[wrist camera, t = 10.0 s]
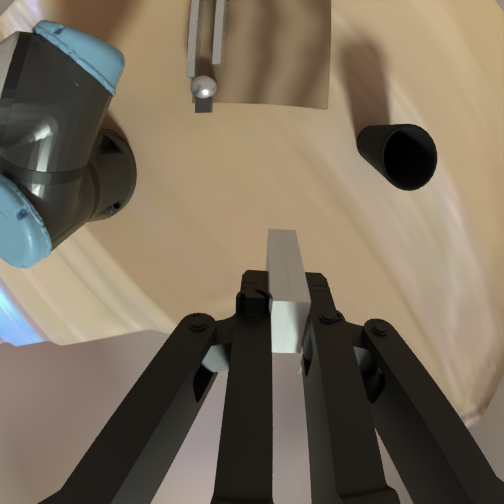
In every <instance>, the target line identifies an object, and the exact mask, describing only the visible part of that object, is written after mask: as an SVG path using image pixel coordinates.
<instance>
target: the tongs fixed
mask: <svg viewBox="0 0 504 504" xmlns="http://www.w3.org/2000/svg"><path fill="white" fill-rule="evenodd" d="M204 1H205V0H192V3H191V13H190V25H189V39H188V55H187V77H189V78H191V79H194V80H193V82H192V84H191V91H192V93H193V95H195V96H196V97H198V98H195V113H205V112H212V106H213V97H214V96H215V95H216V94H217V92H218V84H217V82H216V81H215V80H213V79H212V78H210V77H208V76H200V57H201V40H202V25H203V12H204Z"/></svg>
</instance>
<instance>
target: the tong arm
mask: <svg viewBox="0 0 504 504" xmlns="http://www.w3.org/2000/svg"><path fill="white" fill-rule="evenodd" d="M228 1H229V0H217V1H216V13H215V26H214V41H213V58H212V64H213V65H214V66H215V67H216V68H219V67H224V52H225V36H226V21H227V7H228Z"/></svg>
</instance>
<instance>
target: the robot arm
mask: <svg viewBox="0 0 504 504" xmlns="http://www.w3.org/2000/svg"><path fill="white" fill-rule="evenodd" d="M32 31H33V32H32V33H29V32H21V31H16V32H14V33H13V34H11V35H10V36H9V37H7V38H6V39H4V40H3V41H2V42H0V258H1V259H3V260H4V261H5V262H7V263H8V264H10V265H12V266H14V267H17V268H28V267H31V266H33V265H35V264H36V263H38V262H39V261H41V260H42V259H43V258H46V257H48V256H49V254H50V252H51V251H52V250H54V249H55V248H56V247H57V246H58V245H59V244H61V243H62V242H63V241H64V240H65V239H67V238H68V237H69V236H70V235H71V234H73V233H74V232H75V231H76V230H78V229H79V228H80V227H81V226H83V225H84V224H85V223H86V222H92V221H98V220H104V219H107V218H109V217H111V216H113V215H115V214H116V213H117V212H119V211H120V210H121V209H122V208H124V207H125V205H126V204H127V203H128V202H129V200H130V199H131V197H132V195H133V192H134V189H135V185H136V177H137V173H136V164H135V160H134V157H133V154H132V152H131V150H130V148H129V146H128V145H127V144H126V142H125V141H124V140H123V139H122V138H121V137H120V136H119V135H117V134H116V133H114V132H112V131H110V130H107V129H103V128H100V127H101V125H102V122H103V119H104V117H105V114H106V112H107V109H108V107H109V104H110V102H111V99H112V97H113V96H115V94H116V91H115V89H116V86H117V84H118V81H119V79H120V76H121V74H122V72H123V69H124V66H125V58H124V56H123V54H122V52H121V51H120V50H118V49H117V48H115V47H114V46H112V45H110V44H108V43H106V42H105V41H103V40H101V39H98V38H96V37H94V36H92V35H90V34H87V33H85V32H82V31H80V30H77V29H74V28H71V27H66V26H65V25H61V24H58V23H56V22H52V21H48V20H41V21H40V22H38V23H37V24H36V25H35V26H34V27H33V29H32ZM328 286H329V285H328V282H327V279H326V278H325V277H324V276H323V275H322V274H321V273H310V272H305V271H304V266H303V262H302V257H301V253H300V249H299V244H298V240H297V236H296V231H295V230H281V229H269V231H268V244H267V258H266V271H258V270H247V271H246V272H245V273H244V274H243V275H242V282H241V289H240V292H238V294H237V296H236V313H235V314H234V315H233V316H232V317H230V318H227V319H224V320H219V321H215V319H214V318H213V317H211V316H210V315H208V314H205V313H193V314H190V315H187V316H185V317H184V318H183V319H182V320H181V322H180V323H179V324H178V326H177V327H176V328H175V330H174V331H173V332H172V334H171V335H170V336H169V338H168V339H167V340H166V342H165V343H164V345H163V346H162V347H161V349H160V350H159V351H158V353H157V354H156V356H155V357H154V358H153V360H152V361H151V362H150V364H149V365H148V367H147V368H146V370H145V371H144V372H143V373H142V375H141V376H140V377H139V379H138V380H137V382H136V383H135V384H134V386H133V387H132V389H131V390H130V391H129V393H128V394H127V396H126V397H125V398H124V400H123V401H122V402H121V404H120V405H119V407H118V408H117V410H116V411H115V412H114V414H113V415H112V416H111V418H110V420H109V421H108V422H107V424H106V425H105V426H104V428H103V429H102V431H101V432H100V434H99V435H98V436H97V438H96V439H95V441H94V442H93V443H92V445H91V447H90V448H89V449H88V451H87V452H86V453H85V455H84V456H83V458H82V459H81V461H80V462H79V464H78V465H77V466H76V468H75V469H74V471H73V472H72V474H71V475H70V477H69V478H68V480H67V481H66V482H65V484H64V485H63V487H62V488H61V490H59V491H58V492H56V493H54V494H53V495H51V496H49V497H48V498H46V499H44V500H43V501H41V502H39V503H38V504H150V503H151V501H152V499H153V498H154V496H155V494H156V492H157V490H158V488H159V487H160V485H161V483H162V481H163V479H164V477H165V475H166V473H167V472H168V470H169V468H170V466H171V464H172V462H173V460H174V459H175V456H176V455H177V453H178V451H179V449H180V447H181V445H182V443H183V441H184V439H185V437H186V435H187V434H188V432H189V430H190V428H191V426H192V424H193V422H194V420H195V418H196V416H197V414H198V412H199V410H200V408H201V406H202V404H203V402H204V400H205V398H206V396H207V394H208V392H209V390H210V388H211V387H212V384H213V383H214V381H215V379H216V376H217V375H218V371H224V370H229V371H228V379H227V388H226V395H225V403H224V411H223V419H222V427H221V435H220V444H219V452H218V461H217V469H216V477H215V486H214V493H213V497H212V500H211V503H210V504H274V503H273V498H272V457H273V455H272V454H273V450H272V447H273V441H272V440H273V435H272V433H273V426H272V424H273V422H272V420H273V418H272V417H273V414H272V352H282V353H300V352H301V348H303V356H302V360H301V364H300V368H299V374H301V372H302V375H303V385H304V397H305V408H306V420H307V432H308V447H309V462H310V477H311V478H310V479H311V497H312V504H400V500H399V497H398V494H397V492H396V491H395V489H393V488H391V487H389V486H388V485H387V483H386V480H385V476H384V470H383V465H382V460H381V455H380V451H379V446H378V442H377V436H376V432H375V428H376V430H377V432H378V434H379V436H380V438H381V440H382V442H383V444H384V446H385V447H386V450H387V451H388V453H389V455H390V457H391V459H392V461H393V463H394V465H395V467H396V469H397V471H398V473H399V475H400V477H401V479H402V481H403V483H404V485H405V487H406V489H407V491H408V493H409V495H410V497H411V499H412V501H413V503H414V504H504V482H503V481H501V480H500V479H499V478H498V477H496V475H495V473H494V471H493V470H492V468H491V466H490V465H489V463H488V461H487V460H486V458H485V456H484V455H483V453H482V451H481V450H480V448H479V446H478V445H477V443H476V442H475V440H474V439H473V437H472V435H471V434H470V432H469V431H468V429H467V428H466V426H465V425H464V423H463V422H462V420H461V419H460V417H459V416H458V414H457V413H456V411H455V410H454V408H453V407H452V405H451V404H450V402H449V401H448V400H447V398H446V397H445V395H444V394H443V392H442V391H441V390H440V388H439V387H438V385H437V384H436V383H435V381H434V380H433V378H432V377H431V376H430V374H429V373H428V372H427V370H426V369H425V368H424V366H423V365H422V364H421V362H420V361H419V360H418V358H417V357H416V356H415V354H414V353H413V352H412V350H411V349H410V348H409V346H408V345H407V344H406V343H405V341H404V340H403V339H402V337H401V336H400V335H399V334H398V332H397V331H396V330H395V328H394V327H393V326H392V325H391V324H390V323H388V322H387V321H385V320H382V319H370V320H368V321H367V322H366V323H365V324H364V326H360V325H356V324H352V323H349V322H347V321H345V318H344V316H343V315H342V313H340V312H339V311H338V310H336V308H335V305H334V301H333V298H332V295H331V292H330V289H329V287H328ZM374 426H375V428H374Z"/></svg>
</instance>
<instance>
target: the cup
mask: <svg viewBox="0 0 504 504" xmlns="http://www.w3.org/2000/svg"><path fill="white" fill-rule="evenodd" d="M357 148H358V152H359V153H360V155H361V156H362V157H363V158H364V159H365V160H366V161H367V162H368V163H370V164H371V165H372V166H373V167H374V168H375V169H376V170H377V171H378V172H379V173H380V174H382V175H383V176H384V177H385V178H386V179H387V180H388V181H389V182H390V183H391V184H392V185H394V186H395V187H397V188H399V189H402V190H407V191H412V190H416V189H419V188H421V187H423V186H424V185H425V184H426V183H427V182H429V180H430V179H431V177H432V176H433V174H434V172H435V169H436V165H437V151H436V146H435V144H434V141H433V139H432V138H431V136H430V135H429V134H428V133H427V132H426V131H425V130H424V129H423V128H421V127H419V126H417V125H412V124H394V125H377V126H368V127H366V128H364V129H363V130H362V131H361V132H360V134H359V135H358V138H357Z"/></svg>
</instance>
